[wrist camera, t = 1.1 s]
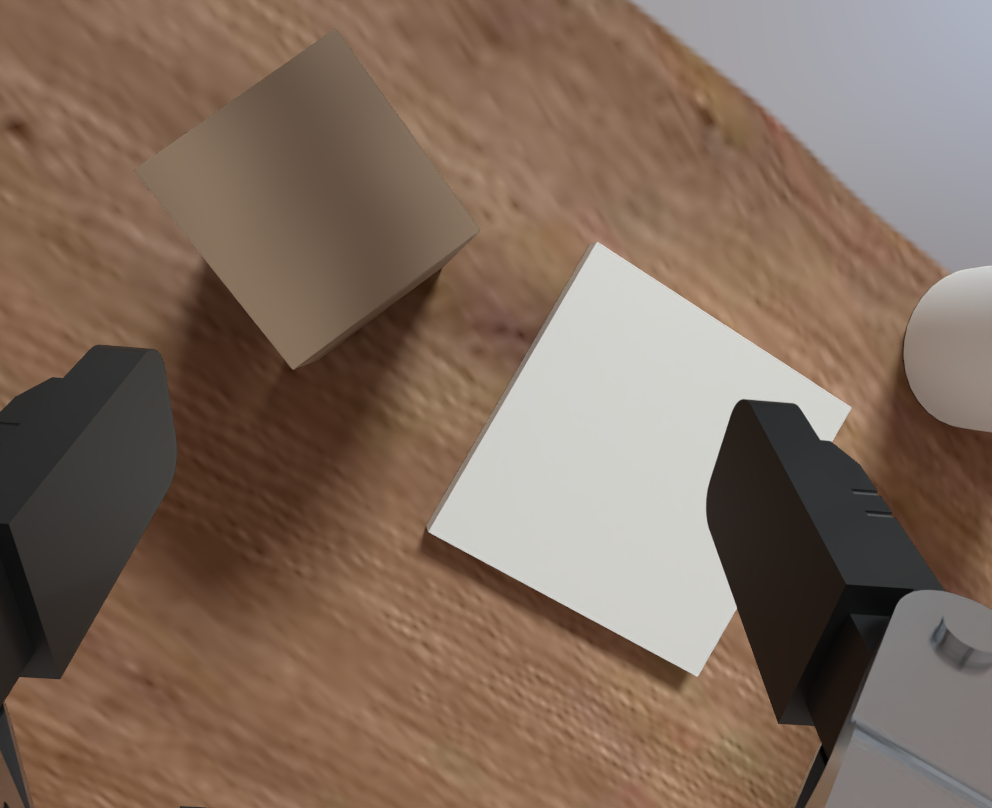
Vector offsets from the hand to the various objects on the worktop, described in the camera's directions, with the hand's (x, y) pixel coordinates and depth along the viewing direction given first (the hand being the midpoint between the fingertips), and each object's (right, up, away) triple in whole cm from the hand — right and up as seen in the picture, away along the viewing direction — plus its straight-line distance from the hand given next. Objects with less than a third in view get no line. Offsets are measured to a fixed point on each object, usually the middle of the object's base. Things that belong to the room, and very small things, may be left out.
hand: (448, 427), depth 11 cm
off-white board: (+7, -2, +21) cm, 22 cm away
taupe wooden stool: (-6, +6, +18) cm, 20 cm away
